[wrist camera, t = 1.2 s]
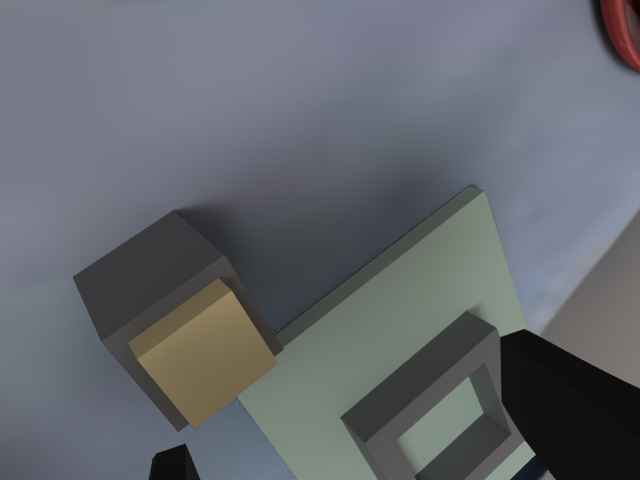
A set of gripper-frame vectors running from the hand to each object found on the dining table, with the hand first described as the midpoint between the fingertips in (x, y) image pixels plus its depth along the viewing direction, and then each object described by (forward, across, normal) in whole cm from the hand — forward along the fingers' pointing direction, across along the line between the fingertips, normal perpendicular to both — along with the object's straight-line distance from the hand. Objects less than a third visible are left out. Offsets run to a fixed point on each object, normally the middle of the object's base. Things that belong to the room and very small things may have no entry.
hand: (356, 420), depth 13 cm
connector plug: (+10, +4, +1) cm, 11 cm away
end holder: (+12, -6, +13) cm, 18 cm away
